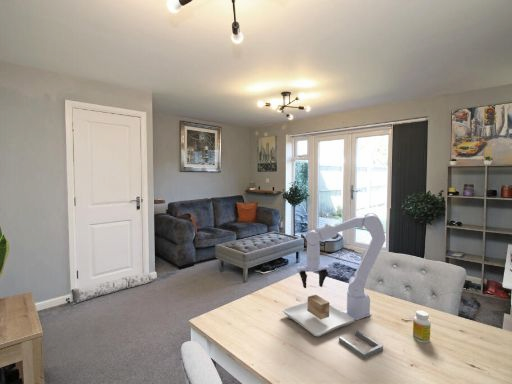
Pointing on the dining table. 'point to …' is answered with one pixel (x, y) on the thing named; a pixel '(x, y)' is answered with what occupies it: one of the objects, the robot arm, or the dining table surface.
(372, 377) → the dining table surface
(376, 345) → the bay
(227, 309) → the dining table surface
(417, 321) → the supplement bottle
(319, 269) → the robot arm
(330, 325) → the salad plate
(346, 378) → the dining table surface
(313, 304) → the tan cardboard box
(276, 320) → the dining table surface
